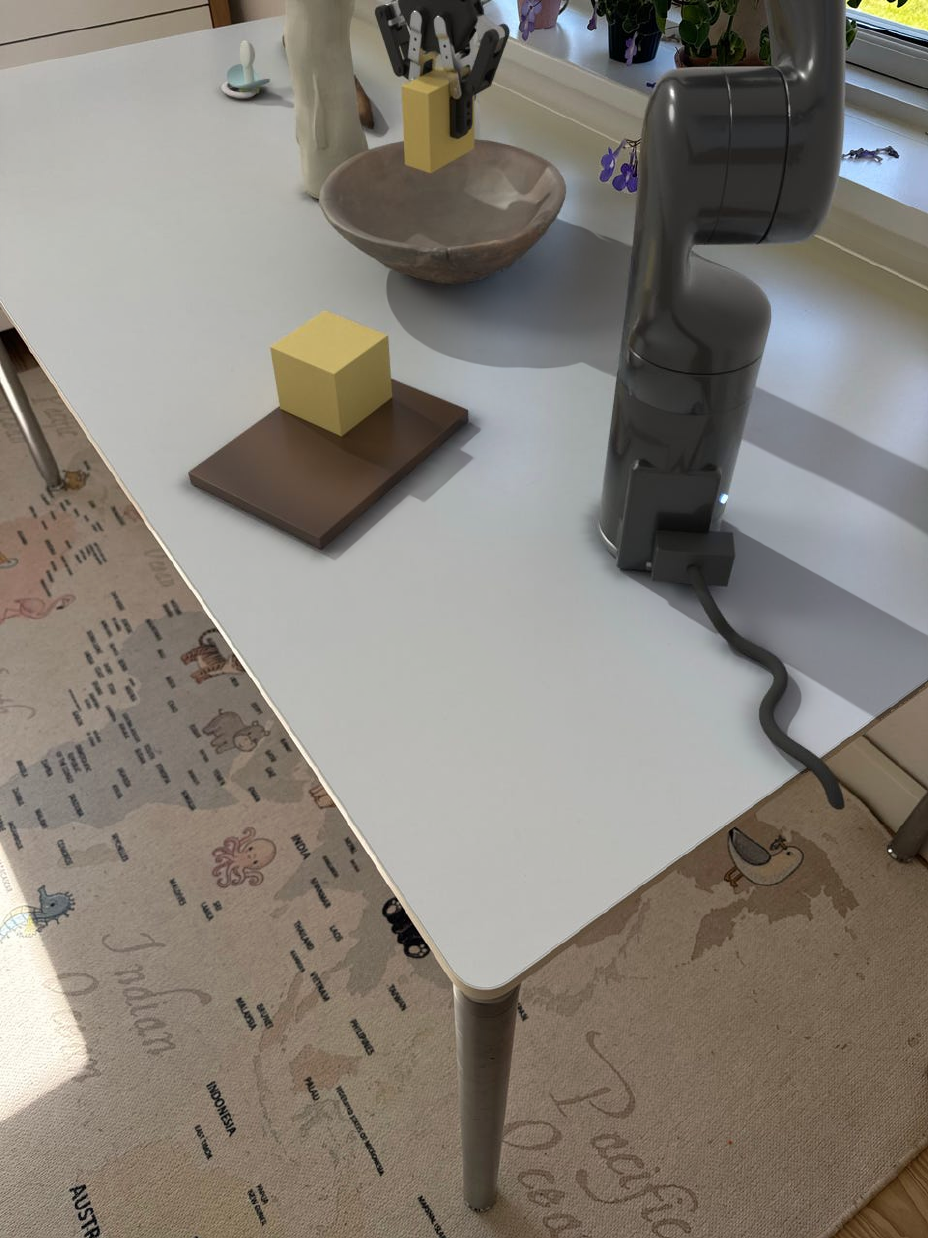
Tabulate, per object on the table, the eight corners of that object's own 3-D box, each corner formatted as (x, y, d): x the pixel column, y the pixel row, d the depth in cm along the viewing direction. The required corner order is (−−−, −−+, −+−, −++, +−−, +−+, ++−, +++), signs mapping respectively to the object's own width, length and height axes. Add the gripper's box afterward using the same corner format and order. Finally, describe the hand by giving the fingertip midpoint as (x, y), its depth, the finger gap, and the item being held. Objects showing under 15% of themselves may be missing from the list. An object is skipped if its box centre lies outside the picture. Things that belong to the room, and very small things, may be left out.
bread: (268, 44, 153) (263, 7, 149) (300, 40, 154) (295, 3, 151) (355, 137, 129) (352, 96, 126) (391, 131, 131) (389, 90, 127)
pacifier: (237, 105, 137) (276, 94, 139) (228, 56, 132) (268, 45, 135) (214, 89, 141) (252, 78, 143) (204, 40, 136) (243, 30, 139)
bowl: (496, 193, 118) (498, 118, 112) (605, 292, 103) (614, 210, 97) (295, 237, 111) (285, 158, 105) (379, 349, 96) (373, 266, 90)
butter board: (345, 369, 94) (344, 358, 93) (468, 420, 88) (468, 409, 87) (190, 483, 82) (187, 472, 82) (321, 550, 77) (319, 538, 76)
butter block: (331, 371, 91) (324, 309, 87) (392, 397, 89) (388, 334, 84) (279, 408, 87) (269, 346, 83) (341, 436, 85) (334, 373, 80)
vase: (351, 168, 123) (326, -132, 101) (385, 194, 118) (367, -115, 96) (288, 185, 120) (247, -121, 98) (320, 213, 115) (286, -103, 93)
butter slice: (449, 140, 101) (447, 62, 96) (474, 148, 100) (474, 70, 94) (404, 164, 97) (401, 85, 92) (430, 173, 96) (428, 93, 91)
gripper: (533, -79, 84) (525, 134, 96) (399, -103, 89) (407, 102, 102) (483, -58, 80) (481, 162, 92) (345, -84, 85) (361, 127, 98)
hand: (442, 129), depth 97 cm, fingers closed on butter slice, 3 cm apart
